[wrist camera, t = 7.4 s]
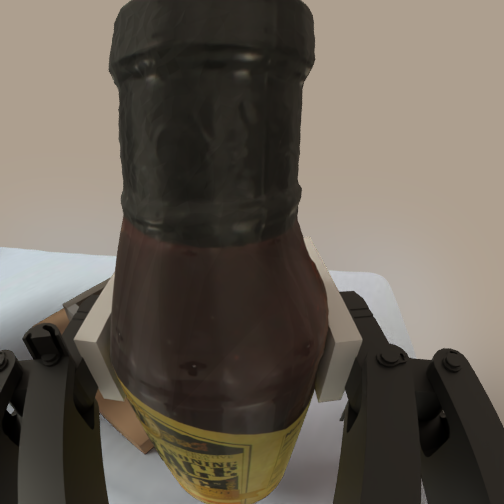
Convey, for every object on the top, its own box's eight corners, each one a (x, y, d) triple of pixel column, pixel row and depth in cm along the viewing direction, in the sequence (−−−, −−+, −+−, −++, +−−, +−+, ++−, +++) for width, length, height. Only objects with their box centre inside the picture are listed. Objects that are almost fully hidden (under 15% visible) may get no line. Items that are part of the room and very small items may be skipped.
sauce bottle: (158, 462, 13) (34, 61, 5) (232, 412, 17) (213, 55, 9) (232, 535, 9) (127, -108, 1) (309, 468, 13) (397, 32, 5)
